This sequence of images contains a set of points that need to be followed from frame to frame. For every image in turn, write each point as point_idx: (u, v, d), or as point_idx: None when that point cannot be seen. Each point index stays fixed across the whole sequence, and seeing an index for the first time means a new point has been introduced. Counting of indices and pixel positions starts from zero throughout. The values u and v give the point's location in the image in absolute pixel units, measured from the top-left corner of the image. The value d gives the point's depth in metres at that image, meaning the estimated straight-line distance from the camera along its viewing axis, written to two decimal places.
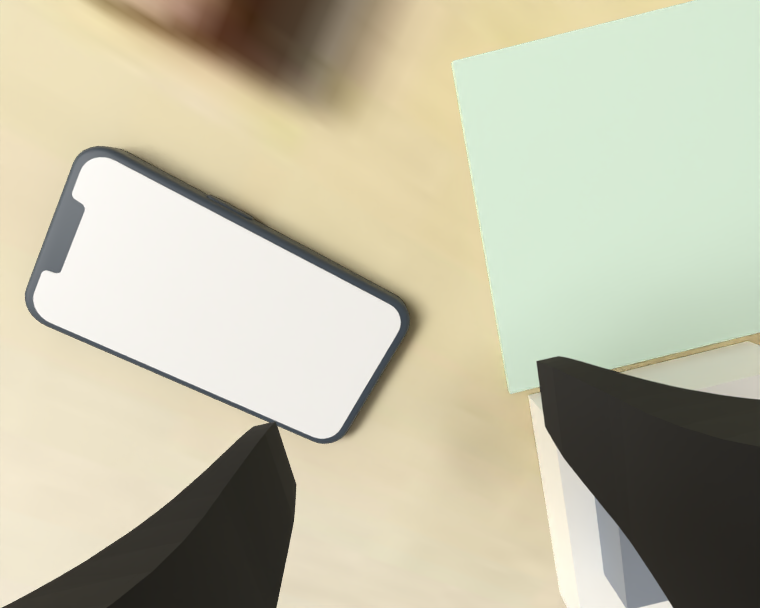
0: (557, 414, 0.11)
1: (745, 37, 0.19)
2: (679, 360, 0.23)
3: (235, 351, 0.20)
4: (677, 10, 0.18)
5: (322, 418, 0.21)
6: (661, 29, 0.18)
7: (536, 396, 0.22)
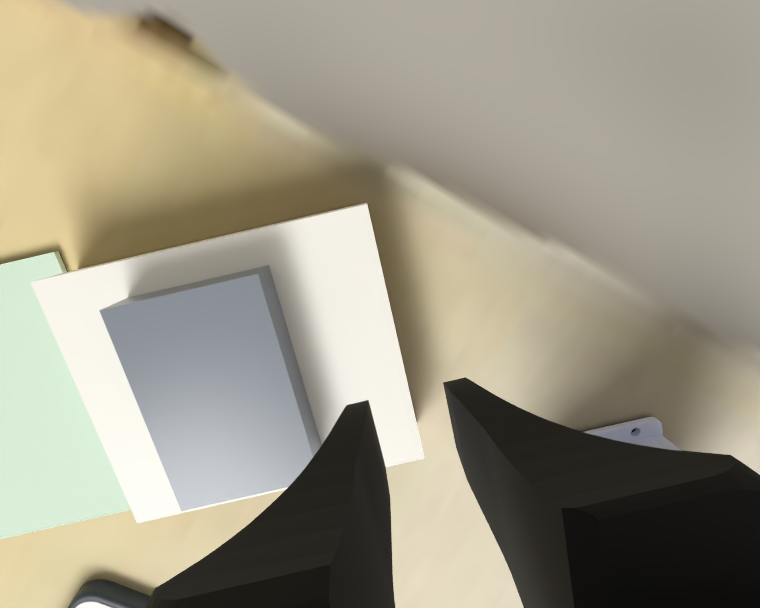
0: (459, 437, 0.11)
1: None
2: None
3: None
4: None
5: None
6: None
7: None
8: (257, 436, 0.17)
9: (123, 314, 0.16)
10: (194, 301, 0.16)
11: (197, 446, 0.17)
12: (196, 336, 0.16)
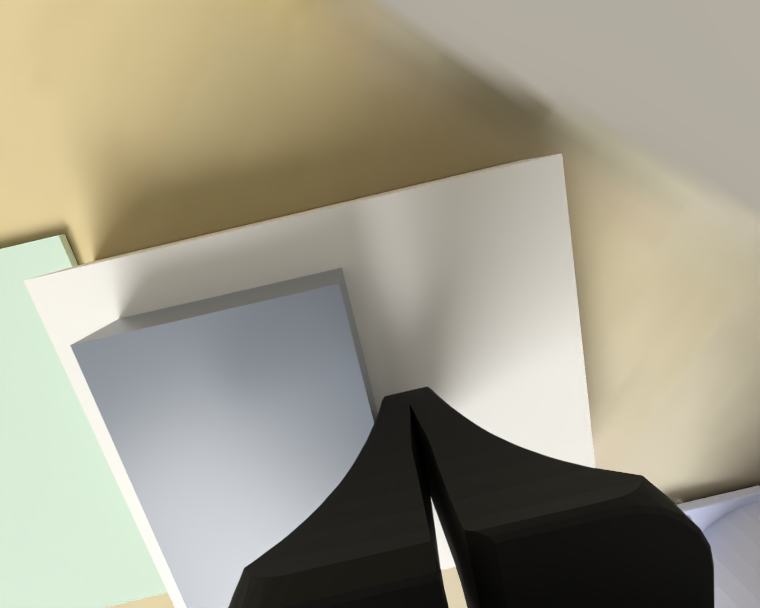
0: None
1: None
2: None
3: None
4: None
5: None
6: None
7: None
8: None
9: (111, 351, 0.09)
10: (231, 329, 0.09)
11: (230, 554, 0.11)
12: (233, 386, 0.10)
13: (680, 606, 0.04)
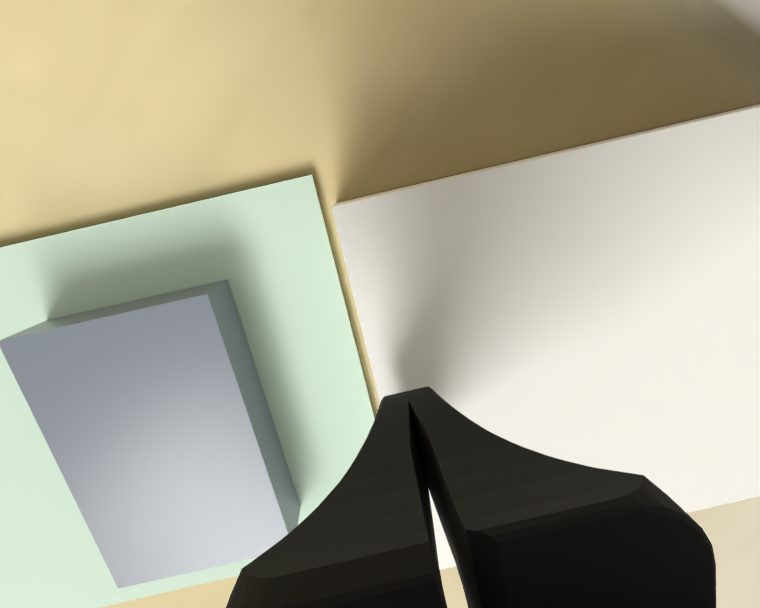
0: None
1: None
2: None
3: None
4: None
5: None
6: None
7: None
8: None
9: None
10: None
11: None
12: None
13: (681, 606, 0.04)
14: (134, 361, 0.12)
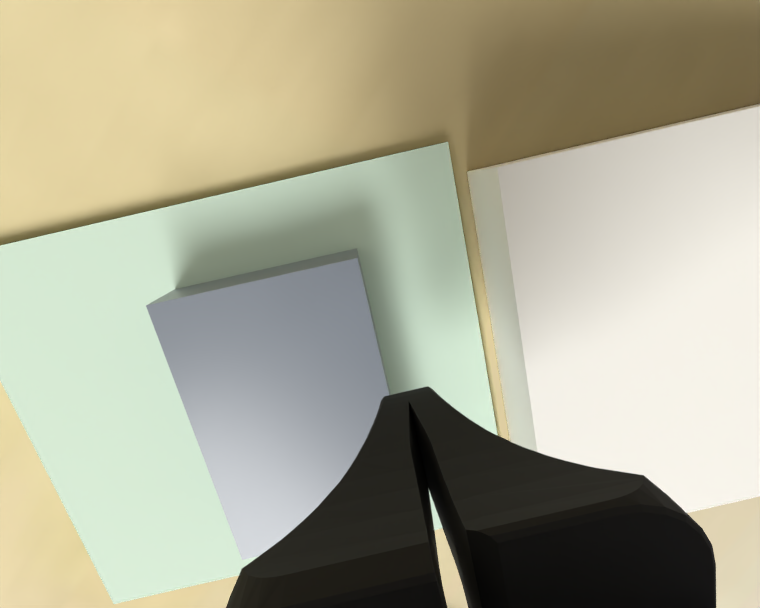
0: None
1: (18, 286, 0.13)
2: (487, 288, 0.14)
3: None
4: (8, 382, 0.14)
5: None
6: (34, 397, 0.14)
7: None
8: None
9: None
10: None
11: None
12: None
13: (681, 605, 0.04)
14: (279, 327, 0.12)
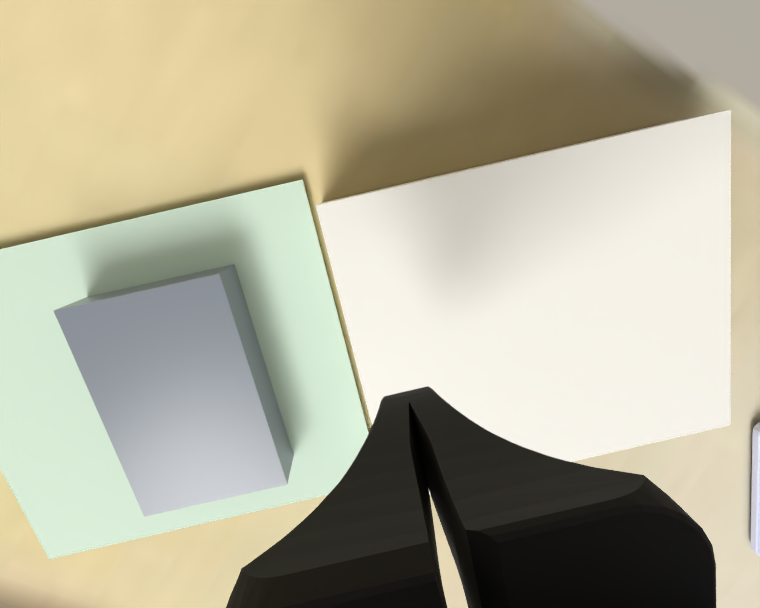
0: None
1: None
2: None
3: None
4: None
5: None
6: None
7: None
8: None
9: None
10: None
11: None
12: None
13: (682, 606, 0.04)
14: (161, 327, 0.16)
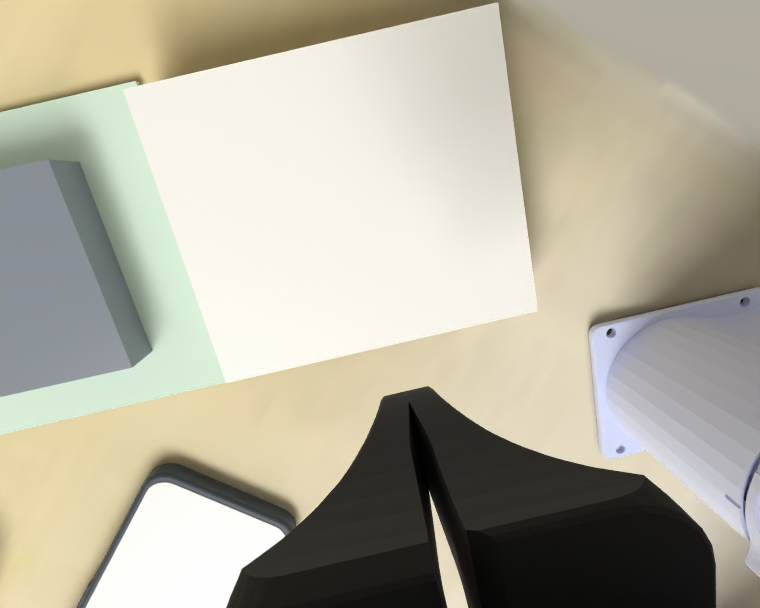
0: None
1: None
2: None
3: (201, 601, 0.24)
4: None
5: (264, 540, 0.24)
6: None
7: None
8: None
9: None
10: None
11: None
12: None
13: (682, 606, 0.04)
14: None
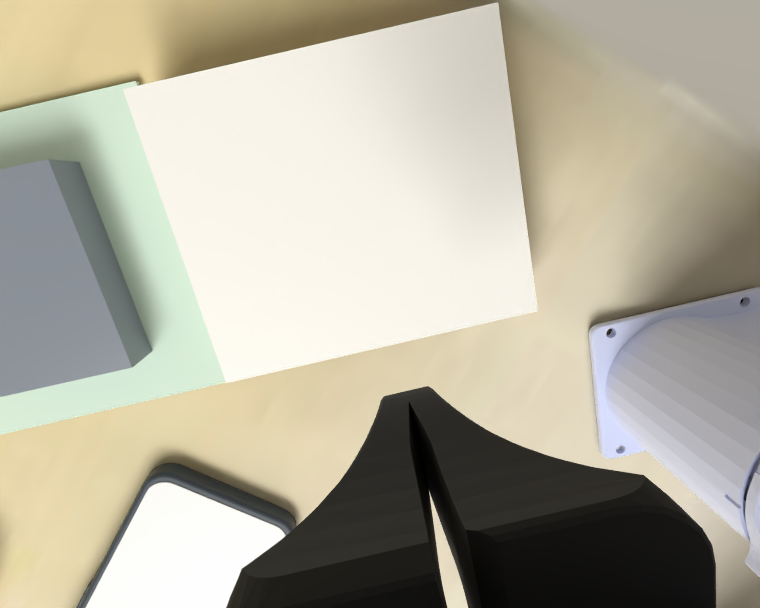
0: None
1: None
2: None
3: (201, 601, 0.24)
4: None
5: (264, 540, 0.24)
6: None
7: None
8: None
9: None
10: None
11: None
12: None
13: (682, 606, 0.04)
14: None
